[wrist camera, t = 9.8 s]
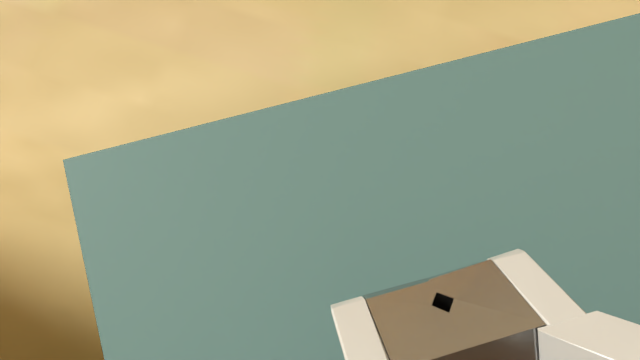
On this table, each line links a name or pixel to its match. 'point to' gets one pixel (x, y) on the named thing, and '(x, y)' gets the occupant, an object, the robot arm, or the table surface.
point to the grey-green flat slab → (368, 200)
